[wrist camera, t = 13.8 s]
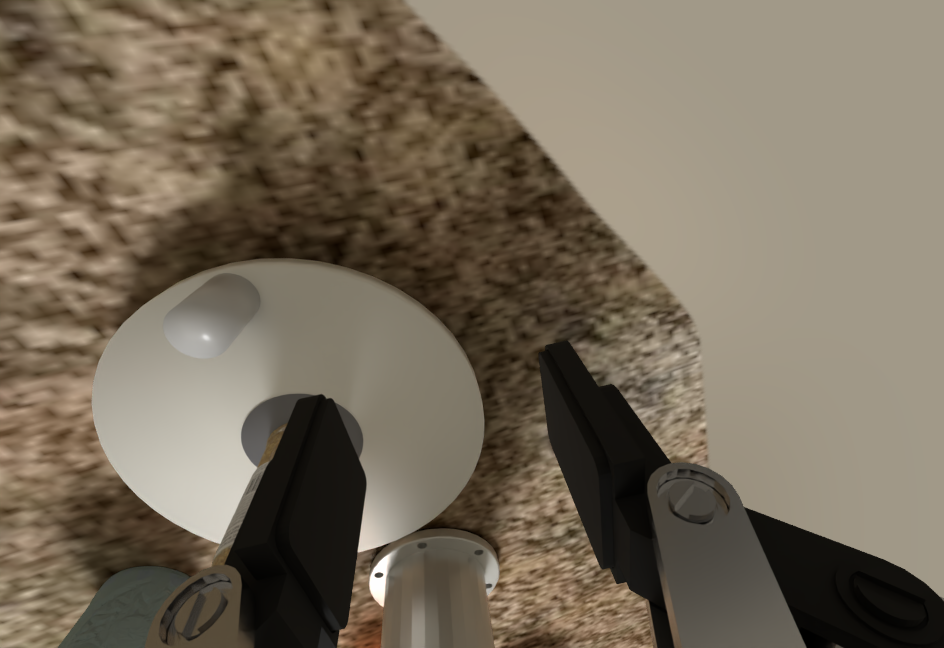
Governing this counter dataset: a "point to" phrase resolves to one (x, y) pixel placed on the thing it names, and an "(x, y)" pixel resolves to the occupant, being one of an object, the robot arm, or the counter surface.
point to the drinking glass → (124, 608)
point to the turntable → (286, 391)
